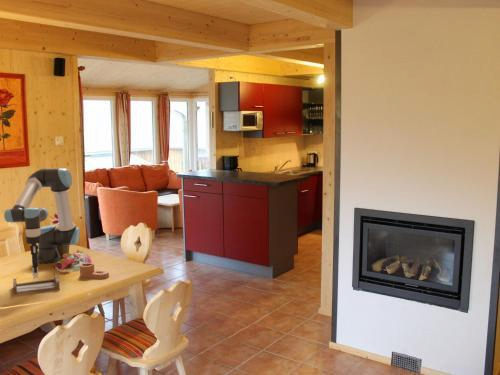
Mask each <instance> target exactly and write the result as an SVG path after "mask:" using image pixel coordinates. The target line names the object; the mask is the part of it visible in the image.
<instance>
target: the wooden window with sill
mask: <svg viewBox="0 0 500 375" xmlns="http://www.w3.org/2000/svg"><path fill="white" fill-rule="evenodd" d="M12 283H13V284H12V287H13V288H12V290H13V297H17V296H24V295H32V294H38V293H45V292H52V291H53V292H54V291H60V279H59V276H58V273H54V274H53V278H51V279H44V280H43V279H42V280H36V281H27V282H20V283H17V278H13V280H12Z"/></svg>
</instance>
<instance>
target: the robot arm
mask: <svg viewBox="0 0 500 375" xmlns="http://www.w3.org/2000/svg"><path fill="white" fill-rule="evenodd" d="M72 185H73V177H72V173H71V171H70V170H69V169H68V168H62V167H60V168H41V169H39V170H36V171H34V172H33V173H32V174H30V175H29V176H28V178H27V179H26V181H25V186H24V188H23V190H22V191H21V193H20V194H19V197H18V198H17V200H16V201H15V203H14V205H13V207H12V208H8V209H6V210H4V216H3V217H4V220H5V222H7V223H24V225H25V227H24V228H25V230H24V231H23V232H24V233H25V236H26V237H25V243H26V244H27V245H30V246H29V250H30V255H31V264H32V265H31V268H32V278H33V279H39V265H38V264H51V263H56V262H60V260H61V256H60V254H59V252H58V249H57V245H69V246H71V245H72V246H73V245H74V246H75V245H77V244H78V243H79V240H80V235H81V234H80V232H81V231H80V230H81V229H80V227H78V226H77V225H76V223H75V222H74V221H73V215H72V208H71V201H70V197H69V190H70V189H71V187H72ZM42 188H50V191H51V192H52V193H53V196H54V203H55V207H56V213H57V215H58V219H57V220H58V221H59V222H58V225H57V226H56V225H55V224H52V225H51V224H50V225H45V226H41V223H42V222H44V221H45V220H46V219H47V218H48V217H49V211H48V209H46V208H44V207H34V206H33V207H30V206H31V204H32V202H33V201H34V198H35V197H36V195H37V193H38V191H40V190H41V189H42Z"/></svg>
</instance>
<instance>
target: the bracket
mask: <svg viewBox="0 0 500 375" xmlns="http://www.w3.org/2000/svg"><path fill="white" fill-rule="evenodd" d="M109 274H110V273H109V270H101V269H95V263H93V262H92V263H83V264H81V265H80V271H79V277H80V278H85V279H95V280H96V279H99V280H101V279H102V280H103V279H107V278H109V276H110V275H109Z"/></svg>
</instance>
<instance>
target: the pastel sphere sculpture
mask: <svg viewBox="0 0 500 375" xmlns="http://www.w3.org/2000/svg"><path fill="white" fill-rule="evenodd" d="M83 252H84V251H81V249H77V250H76V252H73V254H72V253H69V254H63V255H62V256H61V257H63V258H60V260H59V261H58V262H57V263H56V262H55V265H54V266H53V268H55V270H57V271H58V272H61V273H70V272H71V273H72V272H78V271H79V272H80V265H81V264H83V263H93V261H92V259H91V254H89V253H87V252H86V253H85V256H84V254H83Z"/></svg>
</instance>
